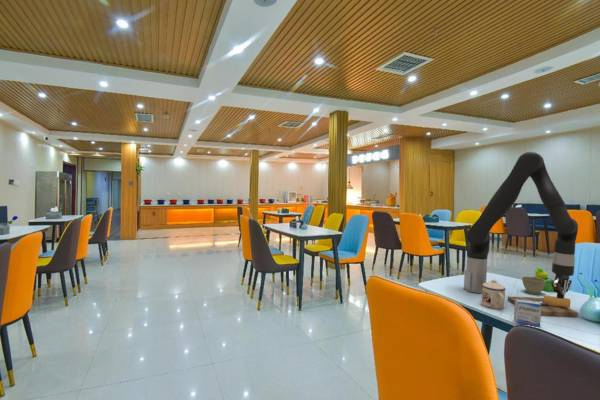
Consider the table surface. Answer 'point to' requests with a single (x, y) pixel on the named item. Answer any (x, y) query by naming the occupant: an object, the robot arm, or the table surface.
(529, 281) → the bowl
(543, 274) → the fruit basket
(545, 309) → the sundial board
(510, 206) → the robot arm
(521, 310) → the medicine box
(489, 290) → the teacup with lid
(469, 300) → the table surface
